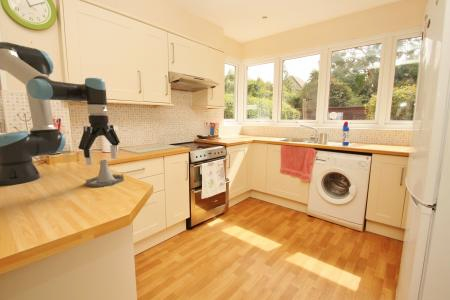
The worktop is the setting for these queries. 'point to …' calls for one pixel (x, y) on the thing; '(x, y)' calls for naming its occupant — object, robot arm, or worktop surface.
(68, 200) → the worktop surface
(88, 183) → the collar
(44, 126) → the robot arm
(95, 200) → the worktop surface
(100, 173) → the flask
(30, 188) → the worktop surface
